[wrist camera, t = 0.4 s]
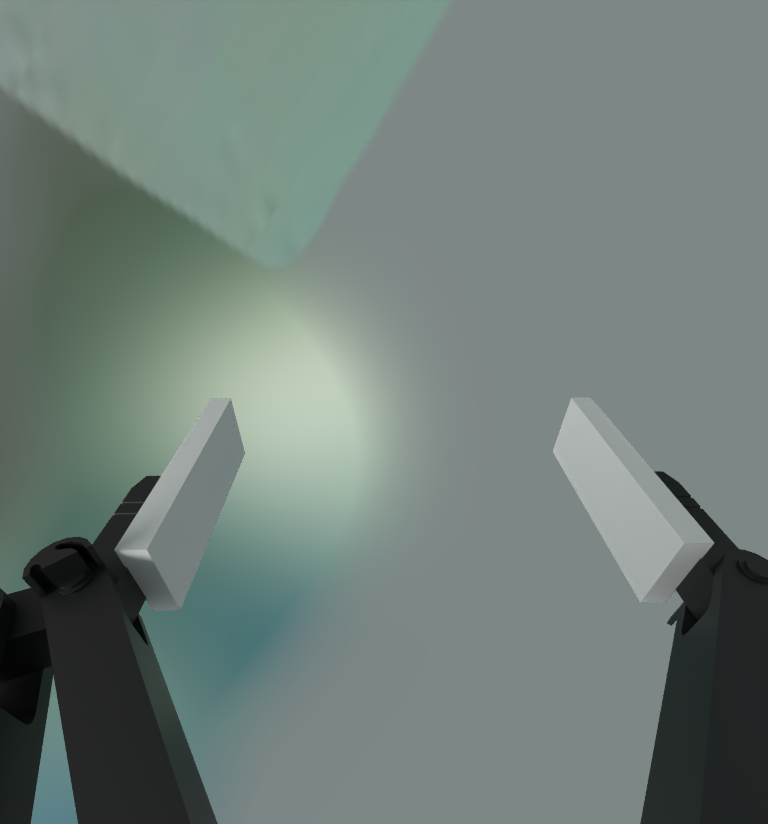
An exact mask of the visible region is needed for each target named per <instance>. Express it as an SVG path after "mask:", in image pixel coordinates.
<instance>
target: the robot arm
mask: <svg viewBox="0 0 768 824" xmlns="http://www.w3.org/2000/svg"><path fill="white" fill-rule="evenodd" d="M553 453H554V454H555V456H556V458H557V460H558V461H559V463H560V464H561V467H562V468H563V470H564V472H565V473H566V475H567V477H568V478H569V480H570V482H571V484H572V486H573V487H574V489H575V490H576V492H577V494H578V496H579V498H580V499H581V501H582V503H583V505H584V506H585V508H586V510H587V511H588V513H589V515H590V517H591V518H592V520H593V521H594V524H595V525H596V527H597V529H598V530H599V532H600V534H601V536H602V537H603V539H604V541H605V542H606V544H607V546H608V548H609V549H610V551H611V553H612V554H613V556H614V558H615V560H616V561H617V563H618V565H619V567H620V568H621V570H622V572H623V573H624V575H625V577H626V578H627V580H628V582H629V584H630V586H631V587H632V589H633V591H634V592H635V594H636V596H637V598H638V599H639V601H640V602H641V603H649V602H650V603H653V602H667V601H668V600H669V598H670V597H671V596H672V595H673V593H674V592H675V591H677V592H678V593H679V595H680V597H681V598H682V599H683V601H684V602H683V604H682V605H681V606H680V607H679V608H678V609H677V610H676V612H675V613H674V614H673V615H672V616H671V617H670V619H669V621H668V622H667V623H668V624H669V625H673V623H674V622H675V621H676V620H677V623H676V628H675V634H674V640H673V646H672V651H671V656H670V662H669V667H668V673H667V678H666V684H665V690H664V695H663V701H662V707H661V712H660V718H659V723H658V729H657V734H656V740H655V746H654V751H653V757H652V762H651V769H650V773H649V779H648V784H647V790H646V796H645V801H644V807H643V813H642V818H641V823H640V824H768V560H767V559H765V558H763V557H761V556H759V555H757V554H755V553H752V552H749V551H746V550H740V549H738V548H737V547H736V546H735V544H734V543H733V542H732V541H731V540H730V539H729V538H728V537H727V535H726V534H724V532H723V531H722V530H721V529H720V528H719V527H718V526H717V524H716V523H715V522H714V521H713V520H712V519H711V518H710V517H709V516H708V514H707V513H706V512H705V511H704V510H703V509H700V505H699V504H698V503H697V502H696V501H695V500H694V499H693V498H691V496H690V494H689V493H688V492H687V491H686V490H685V489H684V488H683V486H681V484H680V483H679V482H677V481H676V480H674V479H673V478H672V477H670V476H669V475H667V474H666V473H664V472H654V471H653V470H652V469H651V468H650V467H649V465H648V464H647V463H646V462H645V461H644V460H643V458H642V457H641V456H640V455H639V454H638V452H637V451H636V450H635V449H634V448H633V447H632V445H631V444H630V443H629V442H628V441H627V440H626V438H625V437H624V436H623V435H622V434H621V432H620V431H619V430H618V429H617V428H616V427H615V425H614V424H613V423H612V422H611V421H610V420H609V418H608V417H607V416H606V415H605V414H604V413H603V411H602V410H601V409H600V408H599V407H598V406H597V404H596V403H595V402H594V401H593V400H592V398H571V401H570V403H569V406H568V409H567V412H566V415H565V418H564V421H563V424H562V426H561V429H560V432H559V435H558V438H557V441H556V444H555V447H554V450H553ZM244 454H245V452H244V448H243V444H242V440H241V436H240V432H239V428H238V425H237V420H236V416H235V413H234V409H233V405H232V401H231V398H214V399H213V398H211V399H210V400H209V402H208V403H207V405H206V406H205V408H204V409H203V411H202V413H201V414H200V416H199V418H198V419H197V420H196V422H195V424H194V425H193V427H192V428H191V430H190V431H189V433H188V435H187V436H186V438H185V439H184V441H183V442H182V444H181V446H180V447H179V449H178V450H177V452H176V453H175V455H174V457H173V458H172V460H171V461H170V463H169V464H168V466H167V468H166V469H165V471H164V472H163V474H162V475H161V476H146V477H145V478H144V479H142V480H141V481H140V482H139V483H137V484H136V485H135V486H134V487H133V488H132V489H131V490H130V491H129V493H128V494H127V496H126V497H125V499H124V500H123V503H122V504H120V506H119V507H118V509H117V510H116V512H115V515H114V516H112V517H111V519H110V520H109V521H108V523H107V524H106V526H105V527H104V529H103V530H102V532H101V533H100V534H99V536H98V537H97V539H96V540H95V542H94V543H93V544H92V545H91V543H90V542H89V541H88V540H87V539H85V538H81V537H72V538H66V539H63V540H60V541H57V542H54V543H52V544H51V545H49V546H47V547H45V548H44V549H42V550H41V551H40V552H38V553H37V555H35V556H34V557H33V558H32V559H31V560H30V561H29V563H28V564H27V566H26V567H25V568H24V572H23V577H22V578H23V579H24V580H25V582H26V583H27V584H28V585H29V586H30V587H31V588H29V589H25V590H22V591H18V592H14V593H11V594H8V595H7V594H6V593H5V592H4V591H3V590H2V589H1V588H0V824H31V817H32V810H33V804H34V797H35V791H36V784H37V777H38V771H39V765H40V758H41V752H42V745H43V738H44V732H45V724H46V719H47V712H48V706H49V699H50V693H51V685H52V679H53V674H54V680H55V686H56V692H57V698H58V704H59V710H60V716H61V722H62V729H63V734H64V741H65V746H66V752H67V759H68V764H69V771H70V777H71V783H72V789H73V795H74V801H75V807H76V813H77V819H78V824H217V821H216V818H215V815H214V813H213V810H212V807H211V805H210V802H209V799H208V796H207V794H206V791H205V788H204V786H203V783H202V780H201V777H200V775H199V772H198V769H197V767H196V764H195V761H194V759H193V756H192V753H191V750H190V748H189V745H188V742H187V739H186V737H185V734H184V732H183V729H182V726H181V723H180V720H179V718H178V715H177V712H176V710H175V707H174V704H173V701H172V699H171V696H170V694H169V691H168V688H167V685H166V682H165V680H164V677H163V675H162V672H161V669H160V666H159V663H158V661H157V658H156V655H155V653H154V650H153V647H152V644H151V642H150V639H149V636H148V634H147V631H146V628H145V626H144V623H143V620H142V618H141V616H140V615H139V611H140V609H141V607H142V605H143V603H144V601H145V599H146V601H147V602H148V604H149V606H150V607H151V609H152V610H180V609H181V607H182V605H183V602H184V600H185V597H186V595H187V592H188V590H189V588H190V585H191V583H192V580H193V578H194V575H195V573H196V571H197V568H198V566H199V563H200V561H201V558H202V556H203V554H204V551H205V549H206V546H207V544H208V541H209V539H210V536H211V534H212V531H213V529H214V527H215V525H216V522H217V520H218V517H219V515H220V512H221V510H222V507H223V505H224V503H225V500H226V498H227V496H228V493H229V490H230V488H231V486H232V483H233V481H234V479H235V476H236V474H237V471H238V469H239V467H240V464H241V462H242V459H243V457H244Z"/></svg>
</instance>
